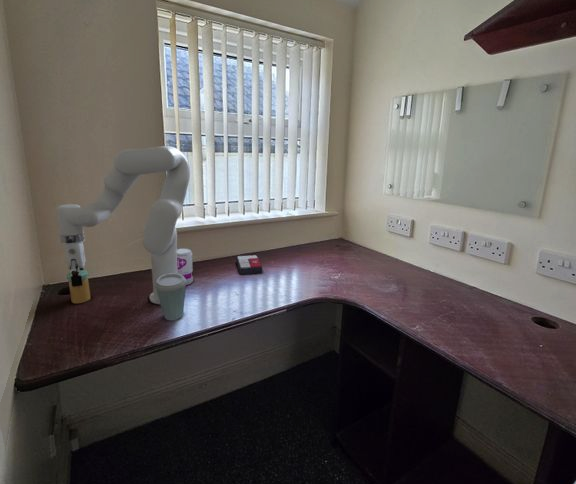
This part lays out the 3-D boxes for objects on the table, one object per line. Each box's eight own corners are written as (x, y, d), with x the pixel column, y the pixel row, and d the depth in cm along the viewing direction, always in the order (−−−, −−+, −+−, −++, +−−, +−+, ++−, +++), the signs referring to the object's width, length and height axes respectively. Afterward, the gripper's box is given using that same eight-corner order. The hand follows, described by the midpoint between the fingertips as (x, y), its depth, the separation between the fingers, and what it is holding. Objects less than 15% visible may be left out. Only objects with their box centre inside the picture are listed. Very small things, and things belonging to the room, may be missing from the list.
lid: (90, 273, 126) (90, 269, 126) (85, 280, 120) (85, 276, 119) (70, 274, 124) (70, 270, 124) (64, 281, 118) (63, 278, 117)
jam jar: (92, 299, 124) (89, 275, 122) (74, 305, 120) (70, 279, 117) (87, 294, 129) (84, 270, 126) (69, 299, 124) (65, 274, 121)
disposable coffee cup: (192, 318, 114) (190, 280, 110) (161, 327, 108) (158, 287, 104) (183, 306, 123) (181, 270, 119) (153, 313, 117) (150, 275, 113)
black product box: (240, 267, 153) (236, 255, 166) (240, 275, 154) (236, 262, 168) (262, 266, 156) (257, 254, 169) (262, 273, 157) (256, 261, 171)
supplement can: (187, 287, 138) (186, 255, 134) (170, 285, 140) (168, 252, 136) (196, 279, 146) (195, 249, 142) (179, 277, 147) (178, 247, 143)
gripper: (82, 243, 112) (87, 289, 117) (86, 230, 127) (91, 272, 131) (56, 245, 109) (63, 293, 113) (64, 232, 124) (69, 274, 128)
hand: (78, 281), depth 122 cm, fingers closed on lid, 6 cm apart
